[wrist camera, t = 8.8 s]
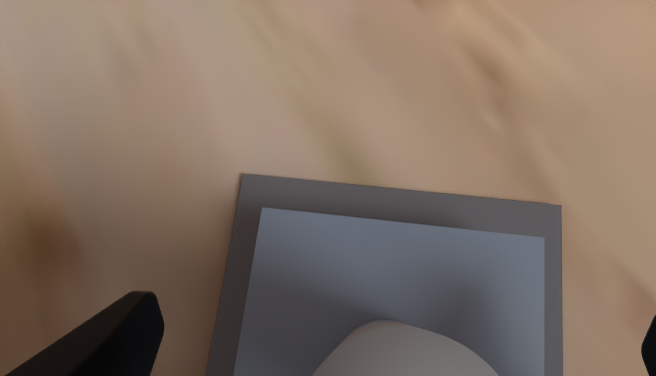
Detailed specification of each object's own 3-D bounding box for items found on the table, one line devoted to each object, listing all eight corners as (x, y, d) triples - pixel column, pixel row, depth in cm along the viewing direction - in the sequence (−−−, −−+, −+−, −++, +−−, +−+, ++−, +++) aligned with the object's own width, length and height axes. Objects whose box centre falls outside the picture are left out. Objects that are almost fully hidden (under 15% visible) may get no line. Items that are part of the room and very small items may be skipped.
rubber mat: (557, 590, 13) (565, 600, 13) (184, 516, 15) (178, 522, 14) (555, 208, 17) (561, 205, 16) (246, 177, 18) (243, 173, 18)
